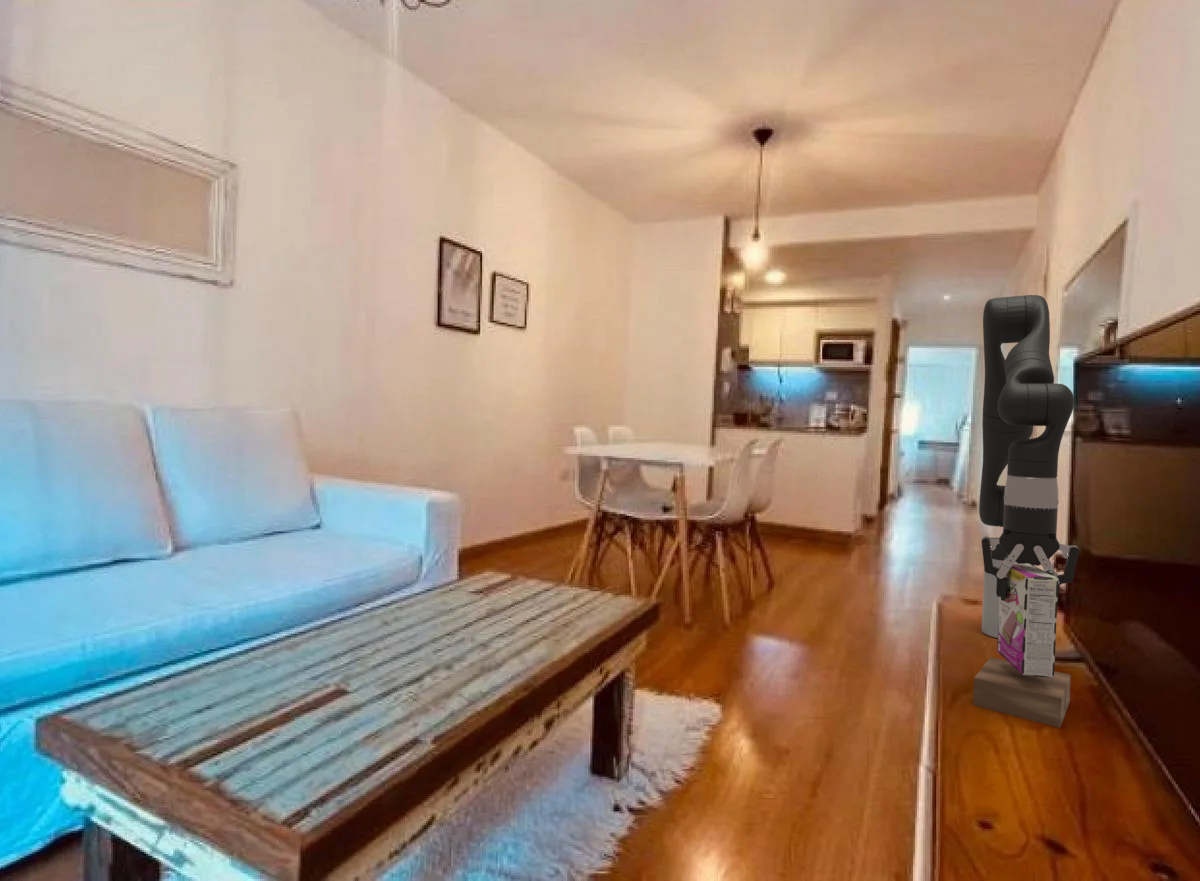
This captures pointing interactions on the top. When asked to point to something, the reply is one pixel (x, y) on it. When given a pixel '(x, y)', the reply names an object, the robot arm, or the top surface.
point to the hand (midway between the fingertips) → (1026, 602)
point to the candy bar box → (1029, 620)
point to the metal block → (1022, 693)
